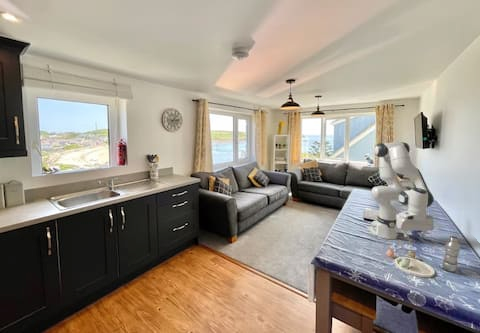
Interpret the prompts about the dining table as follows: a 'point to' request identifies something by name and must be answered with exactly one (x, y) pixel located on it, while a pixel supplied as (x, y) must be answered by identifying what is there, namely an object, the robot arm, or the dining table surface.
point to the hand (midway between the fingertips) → (413, 236)
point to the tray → (416, 267)
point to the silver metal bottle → (451, 254)
